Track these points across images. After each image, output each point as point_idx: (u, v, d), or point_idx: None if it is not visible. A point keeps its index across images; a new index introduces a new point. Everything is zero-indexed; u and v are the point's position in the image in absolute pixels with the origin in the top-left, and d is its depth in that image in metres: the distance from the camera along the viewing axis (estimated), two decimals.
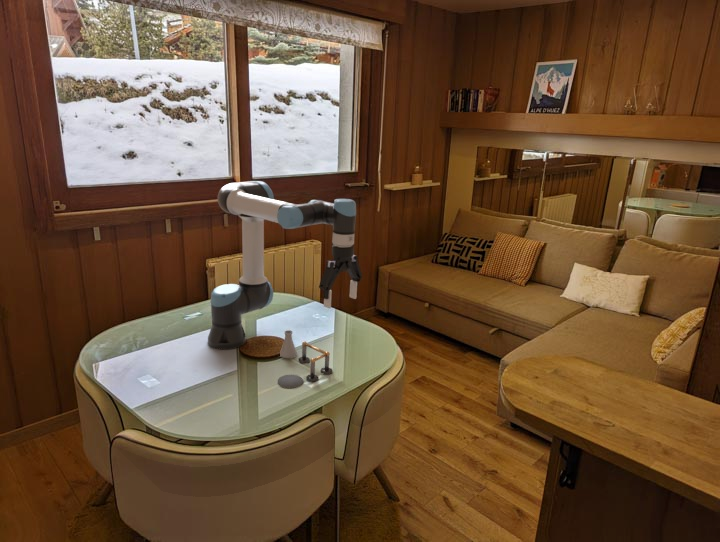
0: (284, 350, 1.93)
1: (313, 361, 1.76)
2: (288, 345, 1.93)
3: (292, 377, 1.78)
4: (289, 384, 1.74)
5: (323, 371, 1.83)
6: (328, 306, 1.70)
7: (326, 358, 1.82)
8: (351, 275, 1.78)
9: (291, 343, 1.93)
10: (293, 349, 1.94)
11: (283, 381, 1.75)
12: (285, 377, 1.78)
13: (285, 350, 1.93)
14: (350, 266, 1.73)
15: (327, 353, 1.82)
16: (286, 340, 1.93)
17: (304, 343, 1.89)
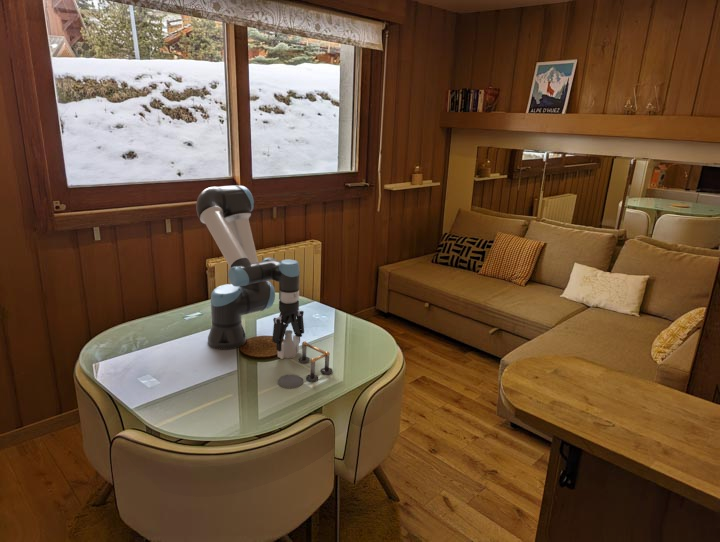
0: (284, 350, 1.93)
1: (313, 361, 1.76)
2: (288, 345, 1.93)
3: (292, 377, 1.78)
4: (289, 384, 1.74)
5: (323, 371, 1.83)
6: (281, 357, 1.92)
7: (326, 358, 1.82)
8: (294, 329, 1.95)
9: (291, 343, 1.93)
10: (293, 349, 1.94)
11: (283, 381, 1.75)
12: (285, 377, 1.78)
13: (285, 350, 1.93)
14: (295, 320, 1.92)
15: (327, 353, 1.82)
16: (286, 340, 1.93)
17: (304, 343, 1.89)
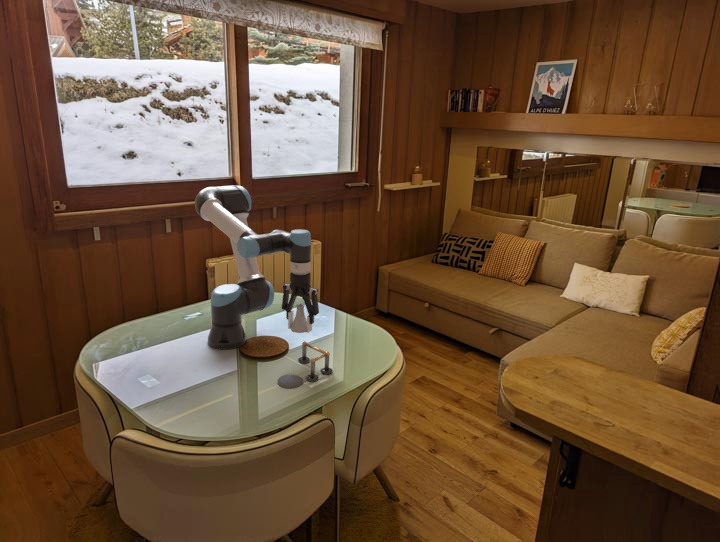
0: (293, 322, 1.88)
1: (313, 361, 1.76)
2: (295, 318, 1.87)
3: (292, 377, 1.78)
4: (289, 384, 1.74)
5: (323, 371, 1.83)
6: None
7: (326, 358, 1.82)
8: None
9: (298, 317, 1.86)
10: (298, 324, 1.86)
11: (283, 381, 1.75)
12: (285, 377, 1.78)
13: None
14: (302, 295, 1.83)
15: (327, 353, 1.82)
16: None
17: (304, 343, 1.89)
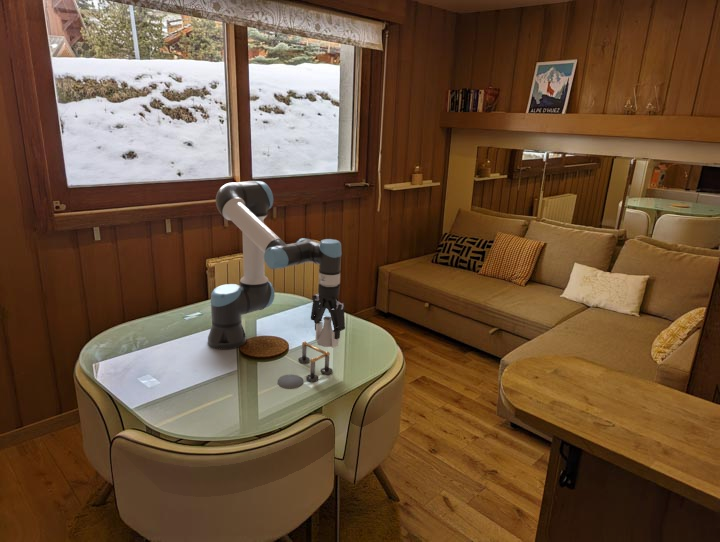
0: None
1: (313, 361, 1.76)
2: (322, 331, 1.79)
3: (292, 377, 1.78)
4: (289, 384, 1.74)
5: (323, 371, 1.83)
6: None
7: (326, 358, 1.82)
8: None
9: (324, 330, 1.78)
10: (323, 337, 1.78)
11: (283, 381, 1.75)
12: (285, 377, 1.78)
13: None
14: (328, 308, 1.74)
15: (327, 353, 1.82)
16: None
17: (304, 343, 1.89)
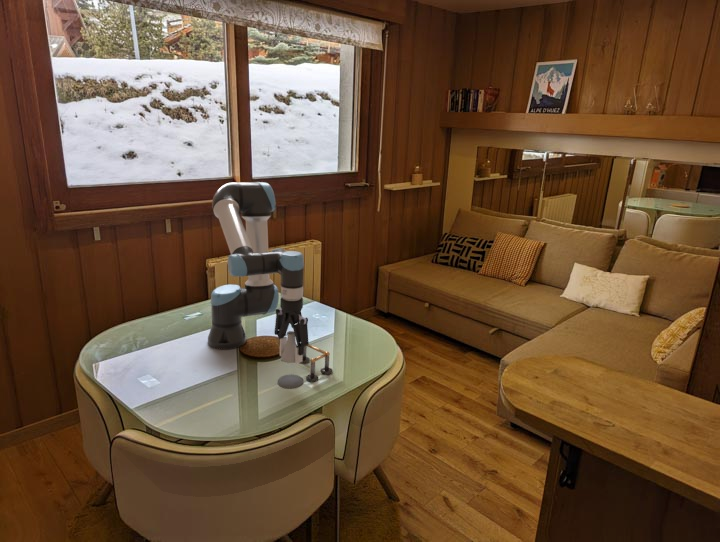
0: None
1: (313, 361, 1.76)
2: (285, 346, 1.72)
3: (292, 377, 1.78)
4: (289, 384, 1.74)
5: (323, 371, 1.83)
6: None
7: (326, 358, 1.82)
8: None
9: (287, 346, 1.70)
10: (286, 353, 1.70)
11: (283, 381, 1.75)
12: (285, 377, 1.78)
13: None
14: (291, 323, 1.67)
15: (327, 353, 1.82)
16: None
17: None
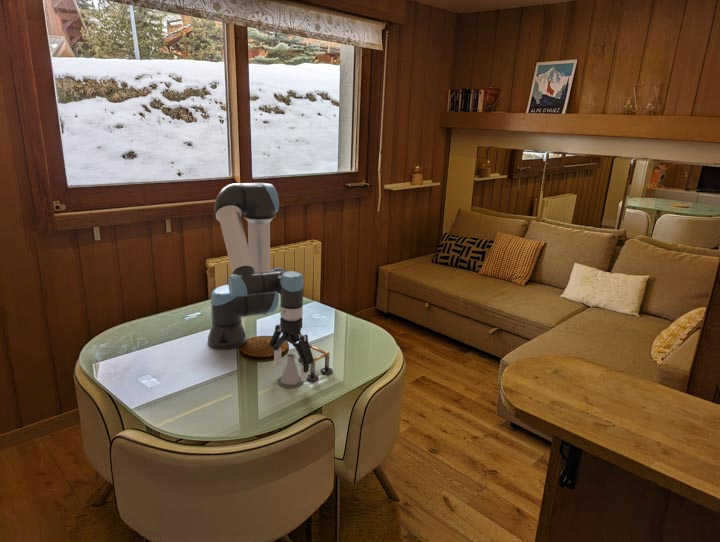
0: None
1: None
2: (285, 368, 1.74)
3: None
4: None
5: (323, 371, 1.83)
6: None
7: (326, 358, 1.82)
8: None
9: (287, 368, 1.73)
10: (286, 375, 1.73)
11: None
12: None
13: None
14: (292, 342, 1.68)
15: (327, 353, 1.82)
16: None
17: None
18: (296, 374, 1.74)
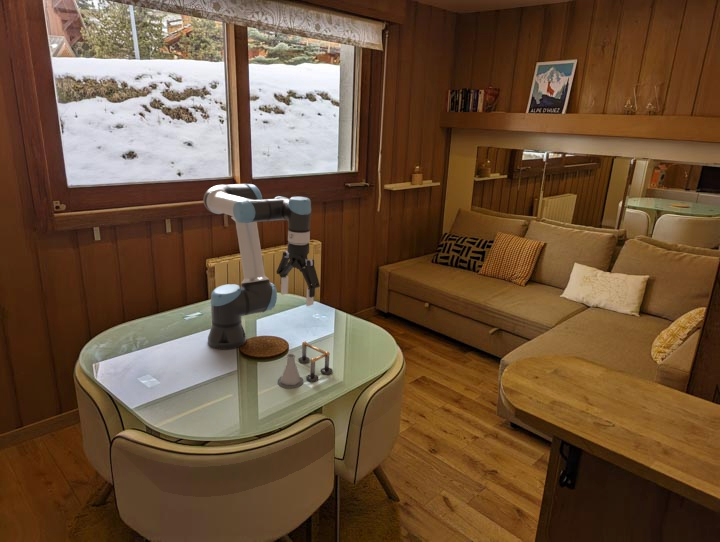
0: None
1: (313, 361, 1.76)
2: (285, 368, 1.74)
3: None
4: None
5: (323, 371, 1.83)
6: None
7: (326, 358, 1.82)
8: None
9: (287, 368, 1.73)
10: (286, 375, 1.73)
11: None
12: None
13: None
14: (299, 267, 1.71)
15: (327, 353, 1.82)
16: None
17: (304, 343, 1.89)
18: (296, 374, 1.74)
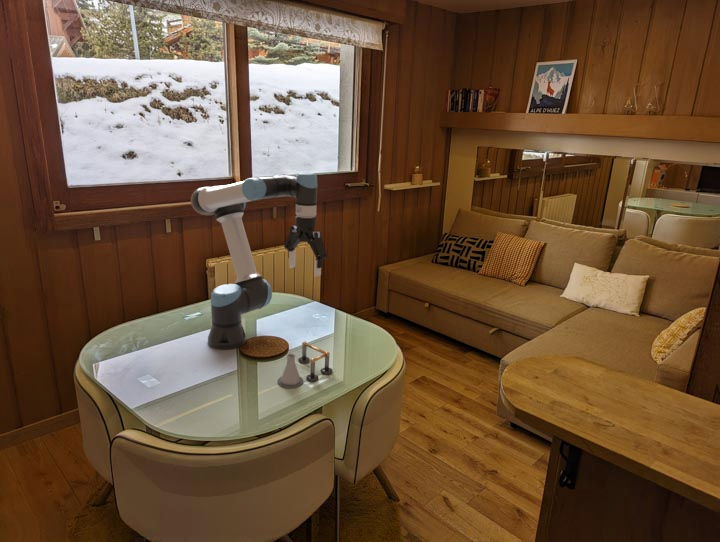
0: None
1: (313, 361, 1.76)
2: (285, 368, 1.74)
3: None
4: None
5: (323, 371, 1.83)
6: None
7: (326, 358, 1.82)
8: None
9: (287, 368, 1.73)
10: (286, 375, 1.73)
11: None
12: None
13: None
14: (306, 239, 1.79)
15: (327, 353, 1.82)
16: None
17: (304, 343, 1.89)
18: (296, 374, 1.74)
